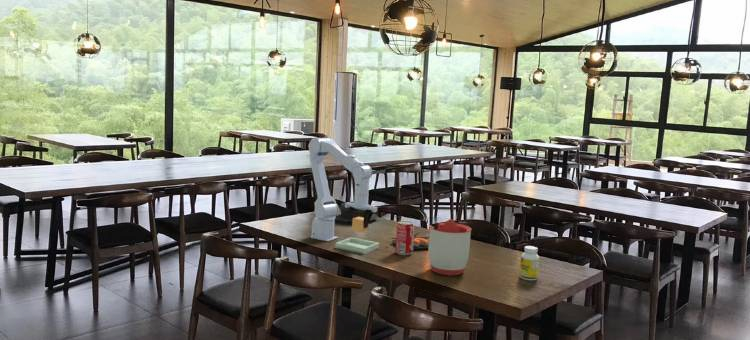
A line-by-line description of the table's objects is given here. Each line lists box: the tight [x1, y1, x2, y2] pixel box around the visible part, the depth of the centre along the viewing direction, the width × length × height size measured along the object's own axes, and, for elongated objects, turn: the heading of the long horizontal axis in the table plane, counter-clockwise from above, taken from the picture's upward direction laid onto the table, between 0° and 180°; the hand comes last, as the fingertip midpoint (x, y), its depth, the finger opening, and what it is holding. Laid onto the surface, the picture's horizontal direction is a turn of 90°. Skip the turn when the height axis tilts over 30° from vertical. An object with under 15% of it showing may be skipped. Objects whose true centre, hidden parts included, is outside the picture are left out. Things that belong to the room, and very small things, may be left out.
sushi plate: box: [390, 231, 429, 250], centre depth 267 cm, size 29×30×4 cm
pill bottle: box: [519, 245, 540, 281], centre depth 221 cm, size 6×6×12 cm
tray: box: [334, 237, 380, 255], centre depth 250 cm, size 14×12×2 cm
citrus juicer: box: [425, 218, 473, 277], centre depth 224 cm, size 16×17×20 cm
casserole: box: [335, 201, 379, 224], centre depth 300 cm, size 25×19×8 cm
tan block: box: [351, 217, 370, 233], centre depth 250 cm, size 5×5×5 cm
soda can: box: [395, 220, 415, 256], centre depth 245 cm, size 7×7×13 cm
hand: (359, 226), depth 250 cm, fingers closed on tan block, 5 cm apart
